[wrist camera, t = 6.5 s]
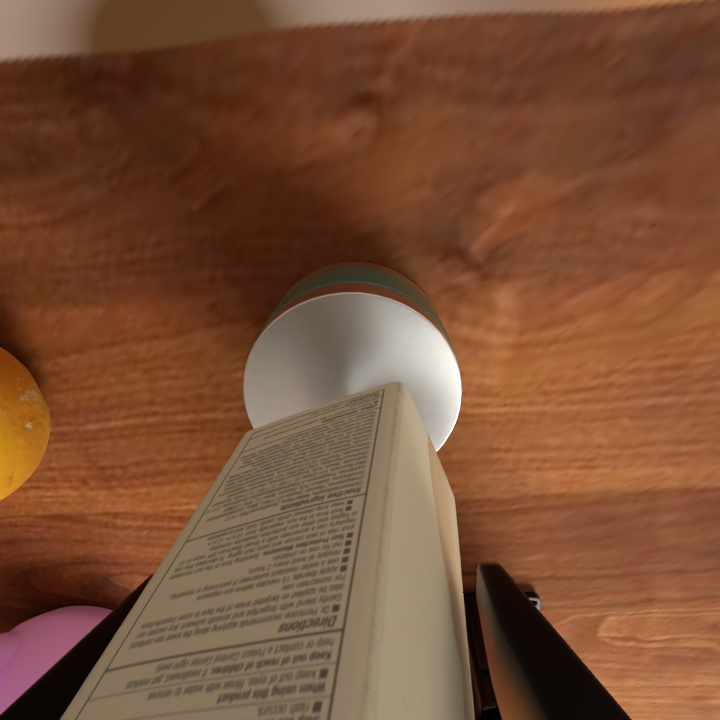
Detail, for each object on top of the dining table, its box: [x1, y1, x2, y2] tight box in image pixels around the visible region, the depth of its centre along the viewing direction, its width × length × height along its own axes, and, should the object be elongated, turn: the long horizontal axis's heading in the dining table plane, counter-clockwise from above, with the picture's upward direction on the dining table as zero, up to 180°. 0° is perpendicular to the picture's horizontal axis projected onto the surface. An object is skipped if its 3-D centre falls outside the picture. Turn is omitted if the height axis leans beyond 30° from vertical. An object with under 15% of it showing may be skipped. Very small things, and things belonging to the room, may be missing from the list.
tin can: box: [242, 261, 462, 452], centre depth 18 cm, size 8×8×5 cm
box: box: [60, 382, 475, 720], centre depth 8 cm, size 5×4×11 cm
